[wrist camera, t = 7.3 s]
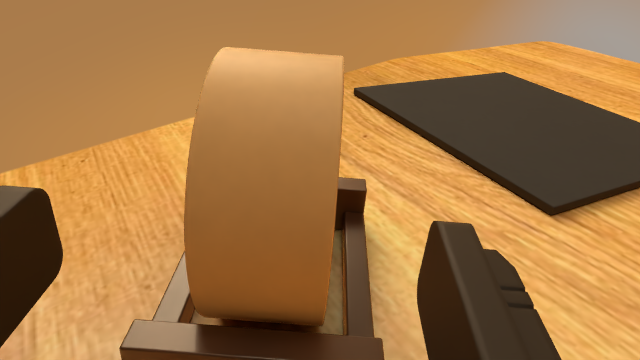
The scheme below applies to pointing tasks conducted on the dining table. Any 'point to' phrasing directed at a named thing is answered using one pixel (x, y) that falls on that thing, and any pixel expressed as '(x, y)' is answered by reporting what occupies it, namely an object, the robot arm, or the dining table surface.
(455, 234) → the robot arm
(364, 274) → the holder
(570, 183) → the mat
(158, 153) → the dining table surface
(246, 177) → the tape roll
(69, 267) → the dining table surface
